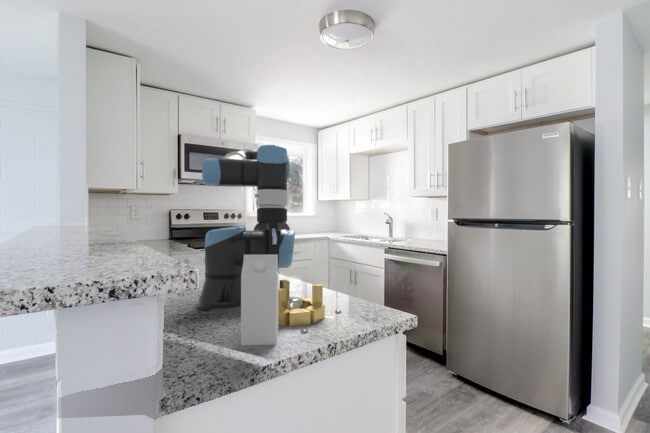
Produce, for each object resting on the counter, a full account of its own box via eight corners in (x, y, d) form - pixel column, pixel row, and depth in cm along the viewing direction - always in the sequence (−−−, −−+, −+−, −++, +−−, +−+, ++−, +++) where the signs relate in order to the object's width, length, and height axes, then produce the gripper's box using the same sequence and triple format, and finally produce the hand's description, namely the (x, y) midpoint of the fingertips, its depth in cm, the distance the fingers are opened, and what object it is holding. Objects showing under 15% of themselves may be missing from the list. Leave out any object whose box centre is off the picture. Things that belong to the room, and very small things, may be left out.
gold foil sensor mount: (252, 319, 85) (252, 287, 85) (286, 304, 98) (287, 277, 98) (303, 329, 78) (303, 294, 78) (333, 312, 91) (333, 282, 91)
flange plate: (237, 325, 84) (237, 302, 84) (284, 305, 102) (284, 287, 102) (306, 340, 75) (306, 315, 75) (345, 316, 92) (345, 295, 92)
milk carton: (245, 338, 76) (246, 252, 76) (278, 337, 76) (278, 252, 76) (240, 351, 69) (241, 257, 68) (276, 350, 69) (276, 256, 69)
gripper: (255, 207, 92) (255, 295, 92) (258, 206, 79) (258, 308, 79) (283, 207, 94) (283, 293, 94) (290, 206, 81) (290, 306, 81)
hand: (271, 300), depth 87 cm, fingers closed
